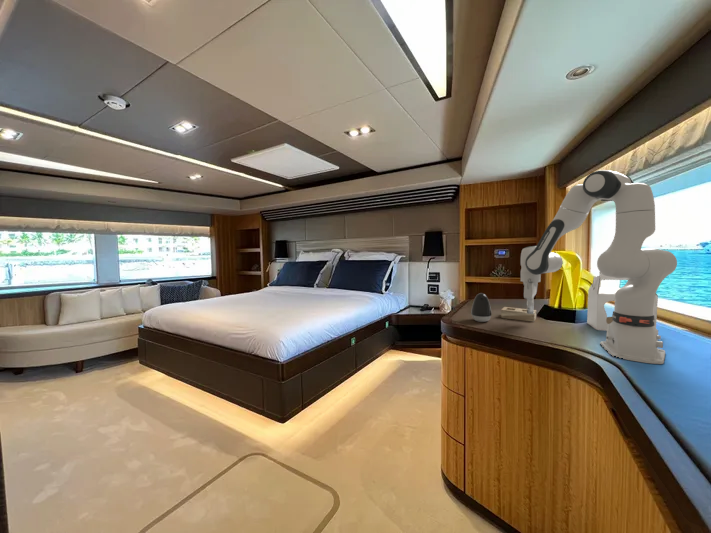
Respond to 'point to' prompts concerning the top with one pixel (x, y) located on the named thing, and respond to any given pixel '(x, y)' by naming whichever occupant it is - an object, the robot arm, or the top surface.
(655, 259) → the robot arm
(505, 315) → the hole block
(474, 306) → the dark grey egg speaker
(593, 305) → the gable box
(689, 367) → the top surface
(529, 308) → the peg
